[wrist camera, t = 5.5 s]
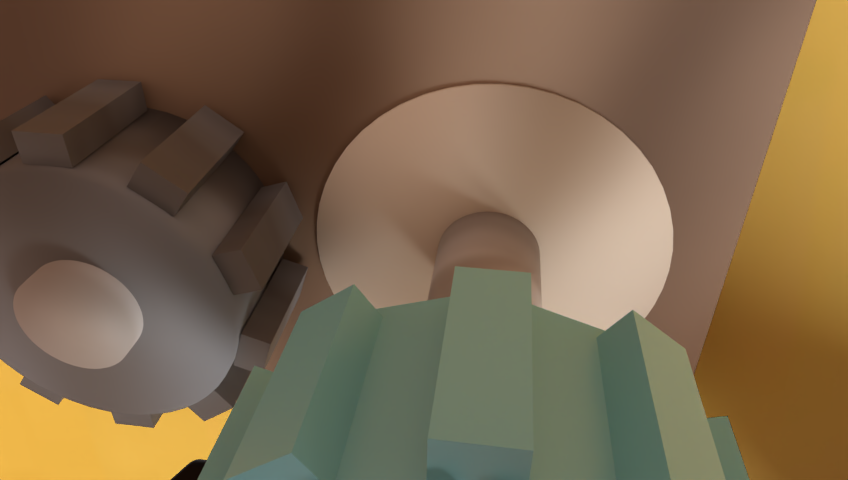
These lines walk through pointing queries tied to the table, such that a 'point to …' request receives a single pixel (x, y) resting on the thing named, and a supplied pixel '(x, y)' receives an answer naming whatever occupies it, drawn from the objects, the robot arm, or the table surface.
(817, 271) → the table surface
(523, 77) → the gear board
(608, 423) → the teal gear
